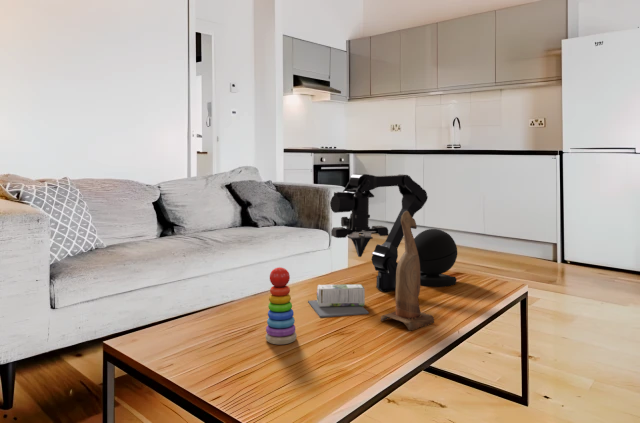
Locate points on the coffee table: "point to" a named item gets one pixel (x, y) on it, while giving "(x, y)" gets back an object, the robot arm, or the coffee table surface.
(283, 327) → the stacking toy
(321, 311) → the mat
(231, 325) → the coffee table surface
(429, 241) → the webcam
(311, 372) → the coffee table surface
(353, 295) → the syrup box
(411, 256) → the bird sculpture
